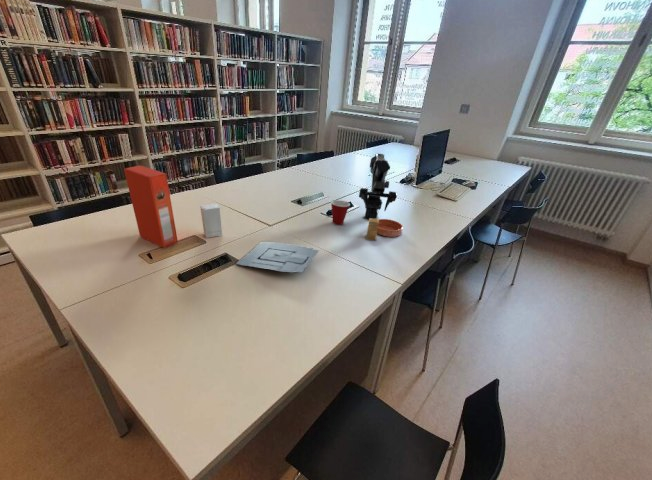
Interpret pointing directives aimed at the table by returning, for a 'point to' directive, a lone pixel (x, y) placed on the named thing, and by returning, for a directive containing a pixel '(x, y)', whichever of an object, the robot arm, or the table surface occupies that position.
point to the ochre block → (372, 229)
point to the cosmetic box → (211, 220)
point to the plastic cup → (339, 211)
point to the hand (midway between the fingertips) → (375, 209)
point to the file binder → (152, 205)
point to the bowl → (389, 228)
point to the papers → (279, 257)
